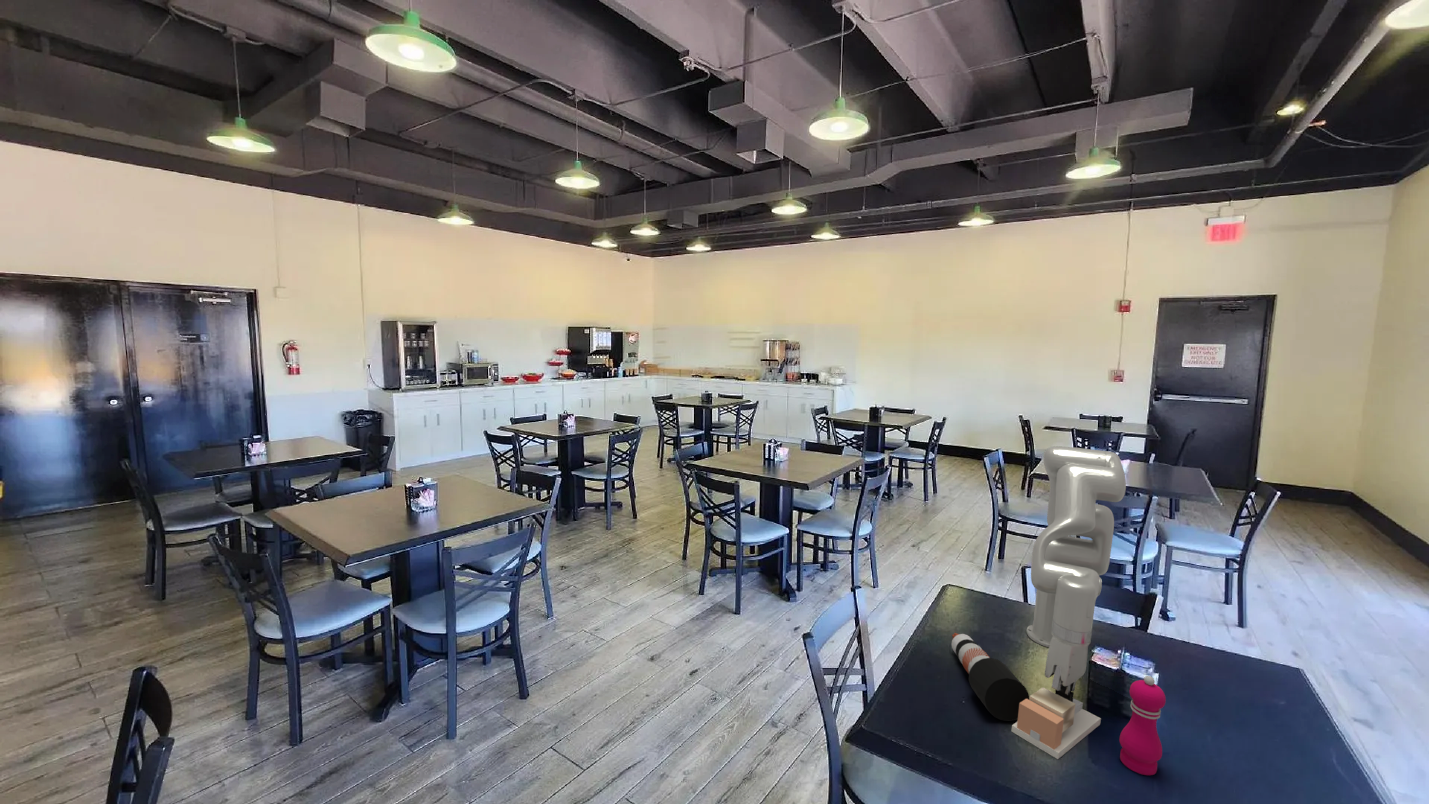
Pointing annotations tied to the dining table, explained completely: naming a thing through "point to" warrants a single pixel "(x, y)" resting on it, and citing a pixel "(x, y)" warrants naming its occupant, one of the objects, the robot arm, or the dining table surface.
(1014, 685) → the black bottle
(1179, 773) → the dining table surface
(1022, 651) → the dining table surface
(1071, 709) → the block
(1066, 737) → the rail base
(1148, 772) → the pepper mill
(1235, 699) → the dining table surface
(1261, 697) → the dining table surface
